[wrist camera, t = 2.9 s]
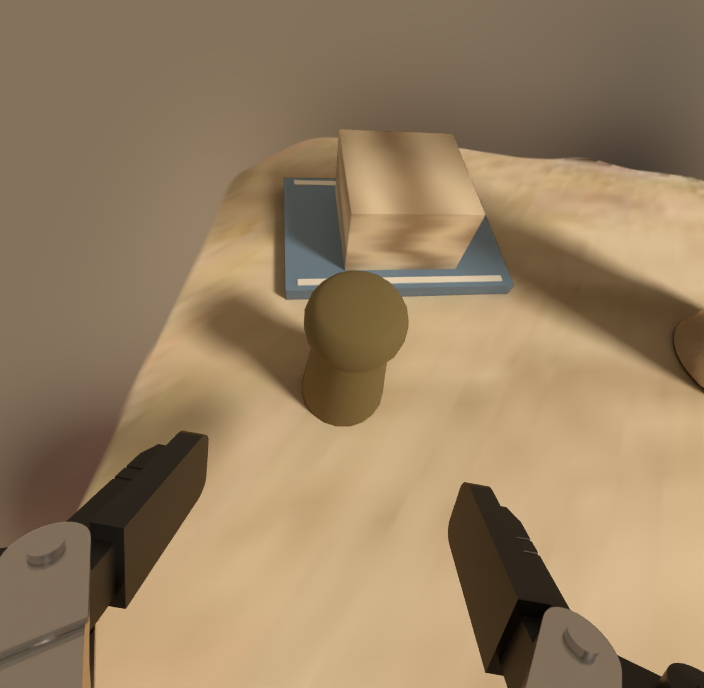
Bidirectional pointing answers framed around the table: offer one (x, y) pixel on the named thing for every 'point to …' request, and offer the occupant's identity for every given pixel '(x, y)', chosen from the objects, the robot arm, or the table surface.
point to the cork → (351, 345)
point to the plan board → (327, 260)
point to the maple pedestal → (403, 201)
